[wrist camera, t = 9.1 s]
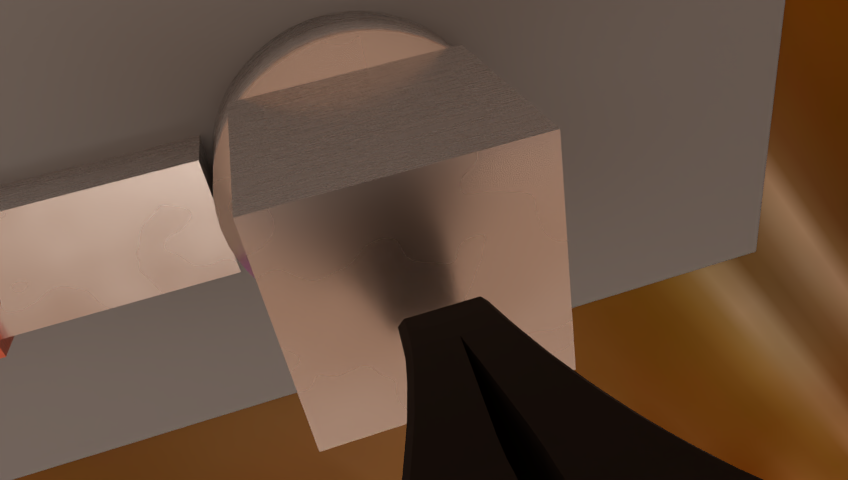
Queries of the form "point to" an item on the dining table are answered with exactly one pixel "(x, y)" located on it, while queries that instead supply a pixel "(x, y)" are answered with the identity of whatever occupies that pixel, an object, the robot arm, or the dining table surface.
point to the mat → (457, 25)
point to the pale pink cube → (396, 222)
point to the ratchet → (164, 192)
